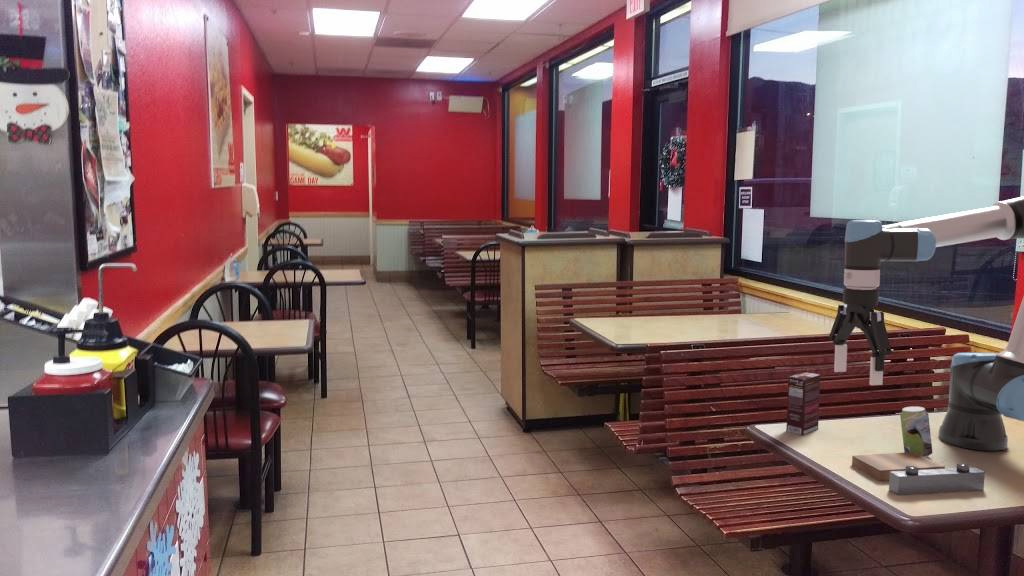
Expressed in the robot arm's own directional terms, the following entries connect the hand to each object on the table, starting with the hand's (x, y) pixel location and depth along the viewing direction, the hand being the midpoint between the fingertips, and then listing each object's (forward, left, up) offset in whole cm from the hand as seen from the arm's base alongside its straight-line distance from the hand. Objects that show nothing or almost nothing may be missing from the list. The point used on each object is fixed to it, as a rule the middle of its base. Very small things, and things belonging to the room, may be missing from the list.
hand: (857, 378), depth 180 cm
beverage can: (-17, -1, -20) cm, 26 cm away
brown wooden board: (-6, +8, -21) cm, 23 cm away
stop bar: (-7, +19, -20) cm, 29 cm away
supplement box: (+1, -21, -20) cm, 29 cm away
